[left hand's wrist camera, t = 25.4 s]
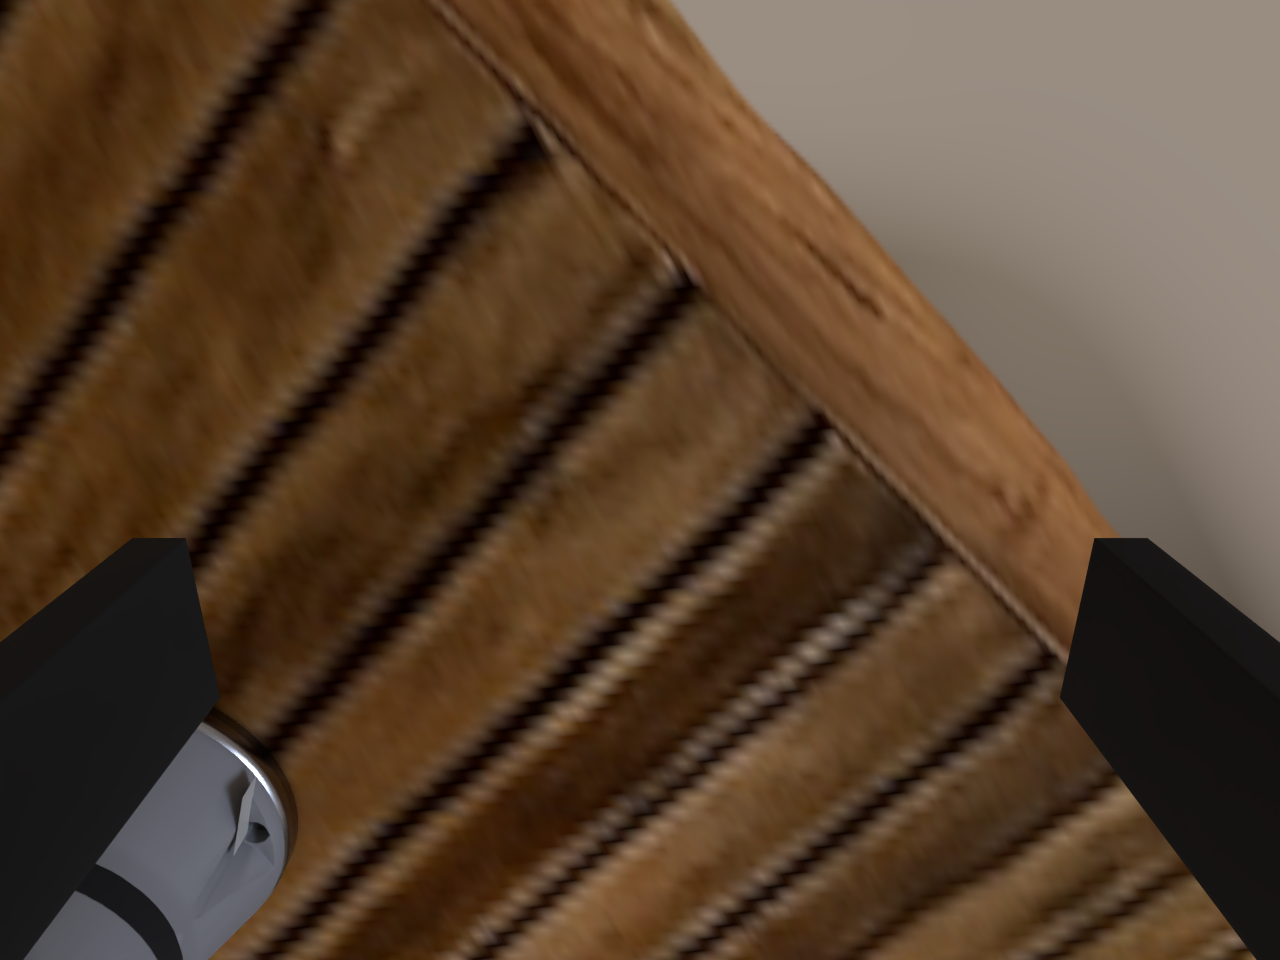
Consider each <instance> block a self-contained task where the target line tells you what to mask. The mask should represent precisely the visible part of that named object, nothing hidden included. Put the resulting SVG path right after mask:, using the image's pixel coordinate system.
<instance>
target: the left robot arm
mask: <svg viewBox="0 0 1280 960" xmlns="http://www.w3.org/2000/svg"><path fill="white" fill-rule="evenodd" d="M219 698H220V695H219V691H218V686H217V681H216V677H215V672H214V667H213V663H212V658H211V654H210V649H209V644H208V640H207V635H206V630H205V626H204V621H203V617H202V612H201V607H200V603H199V598H198V594H197V589H196V584H195V580H194V575H193V570H192V566H191V561H190V557H189V552H188V547H187V543H186V538H132V539H131V540H130V541H128V542H127V543H126V544H124V545H123V546H122V547H121V548H119V549H118V550H117V551H116V552H114V553H113V554H112V555H111V556H109V557H108V558H107V559H105V560H104V561H103V562H102V563H100V564H99V565H98V566H97V567H95V568H94V569H93V570H91V571H90V572H89V573H88V574H86V575H85V576H84V577H83V578H81V579H80V580H79V581H78V582H76V583H75V584H74V585H72V586H71V587H70V588H69V589H67V590H66V591H65V592H64V593H62V594H61V595H60V596H59V597H57V598H56V599H55V600H53V601H52V602H51V603H50V604H48V605H47V606H46V607H45V608H43V609H42V610H41V611H40V612H38V613H37V614H36V615H34V616H33V617H32V618H31V619H29V620H28V621H27V622H26V623H24V624H23V625H22V626H21V627H19V628H18V629H17V630H15V631H14V632H13V633H12V634H10V635H9V636H8V637H7V638H5V639H4V640H3V641H1V642H0V960H208V959H209V958H210V957H211V956H212V955H213V954H214V953H215V952H216V951H217V950H218V949H219V948H220V947H221V946H222V945H223V944H224V943H225V942H226V941H227V940H228V939H229V938H230V937H231V936H232V935H233V934H234V933H235V932H236V931H237V930H238V929H239V928H240V927H241V926H242V925H243V924H244V923H245V922H246V921H247V920H248V919H249V918H250V917H251V916H252V915H253V914H254V913H255V912H256V911H257V910H258V909H259V908H260V907H261V906H262V904H263V903H264V902H265V901H266V900H267V899H268V898H269V896H270V895H271V894H272V892H273V891H274V889H275V887H276V886H277V884H278V882H279V880H280V878H281V876H282V874H283V872H284V870H285V868H286V865H287V863H288V861H289V859H290V857H291V855H292V852H293V850H294V846H295V843H296V838H297V831H298V816H297V808H296V803H295V799H294V795H293V793H292V790H291V787H290V785H289V782H288V780H287V779H286V777H285V775H284V773H283V771H282V769H281V768H280V766H279V765H278V763H277V762H276V760H275V759H274V758H273V756H272V755H271V754H270V753H269V751H268V750H267V749H266V748H265V747H264V746H263V745H262V744H261V743H260V742H259V740H257V739H256V738H255V737H254V736H253V735H252V734H251V733H250V732H249V731H247V730H246V729H245V728H243V727H242V726H241V725H240V724H238V723H237V722H236V721H234V720H233V719H231V718H229V717H228V716H226V715H225V714H223V713H222V712H220V711H218V710H216V709H214V708H213V706H214V705H215V704H216V702H217V701H218V700H219ZM1060 698H1061V700H1062V701H1063V702H1064V704H1065V705H1066V706H1067V708H1068V709H1069V710H1070V712H1071V713H1072V714H1073V716H1074V717H1075V718H1076V720H1077V721H1078V722H1079V724H1080V725H1081V726H1082V728H1083V729H1084V730H1085V732H1086V733H1087V734H1088V736H1089V737H1090V738H1091V740H1092V741H1093V742H1094V744H1095V745H1096V746H1097V748H1098V749H1099V750H1100V752H1101V753H1102V754H1103V756H1104V757H1105V758H1106V760H1107V761H1108V762H1109V764H1110V765H1111V766H1112V768H1113V769H1114V770H1115V772H1116V773H1117V774H1118V776H1119V777H1120V778H1121V780H1122V781H1123V782H1124V784H1125V785H1126V786H1127V788H1128V789H1129V790H1130V792H1131V793H1132V794H1133V796H1134V797H1135V798H1136V800H1137V801H1138V802H1139V804H1140V805H1141V806H1142V808H1143V809H1144V810H1145V812H1146V813H1147V814H1148V816H1149V817H1150V818H1151V820H1152V821H1153V822H1154V824H1155V825H1156V826H1157V828H1158V829H1159V830H1160V832H1161V833H1162V834H1163V836H1164V837H1165V838H1166V840H1167V841H1168V842H1169V844H1170V845H1171V846H1172V848H1173V849H1174V850H1175V852H1176V853H1177V854H1178V856H1179V857H1180V858H1181V860H1182V861H1183V862H1184V864H1185V865H1186V866H1187V868H1188V869H1189V870H1190V872H1191V873H1192V874H1193V876H1194V877H1195V878H1196V880H1197V881H1198V882H1199V884H1200V885H1201V886H1202V888H1203V889H1204V890H1205V892H1206V893H1207V894H1208V896H1209V897H1210V898H1211V900H1212V901H1213V902H1214V904H1215V905H1216V906H1217V908H1218V909H1219V910H1220V912H1221V913H1222V914H1223V916H1224V917H1225V918H1226V920H1227V921H1228V922H1229V924H1230V925H1231V926H1232V928H1233V929H1234V930H1235V932H1236V933H1237V934H1238V936H1239V937H1240V938H1241V940H1242V941H1243V942H1244V944H1245V945H1246V946H1247V948H1248V949H1249V950H1250V952H1251V953H1252V954H1253V956H1254V957H1255V958H1256V960H1280V642H1278V641H1277V640H1276V639H1275V638H1273V637H1272V636H1271V635H1270V634H1268V633H1267V632H1266V631H1265V630H1263V629H1262V628H1261V627H1259V626H1258V625H1257V624H1256V623H1254V622H1253V621H1252V620H1251V619H1249V618H1248V617H1247V616H1246V615H1244V614H1243V613H1242V612H1240V611H1239V610H1238V609H1237V608H1235V607H1234V606H1233V605H1232V604H1230V603H1229V602H1228V601H1227V600H1225V599H1224V598H1223V597H1221V596H1220V595H1219V594H1218V593H1216V592H1215V591H1214V590H1213V589H1211V588H1210V587H1209V586H1208V585H1206V584H1205V583H1204V582H1202V581H1201V580H1200V579H1199V578H1197V577H1196V576H1195V575H1194V574H1192V573H1191V572H1190V571H1188V570H1187V569H1186V568H1185V567H1183V566H1182V565H1181V564H1180V563H1178V562H1177V561H1176V560H1174V559H1173V558H1172V557H1171V556H1169V555H1168V554H1167V553H1166V552H1164V551H1163V550H1162V549H1161V548H1159V547H1158V546H1157V545H1156V544H1154V543H1153V542H1152V541H1150V540H1149V539H1148V538H1094V543H1093V547H1092V552H1091V557H1090V561H1089V566H1088V570H1087V575H1086V580H1085V584H1084V589H1083V594H1082V598H1081V603H1080V607H1079V612H1078V617H1077V621H1076V626H1075V630H1074V635H1073V640H1072V644H1071V649H1070V654H1069V658H1068V663H1067V667H1066V672H1065V677H1064V681H1063V686H1062V691H1061V695H1060Z"/></svg>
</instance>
